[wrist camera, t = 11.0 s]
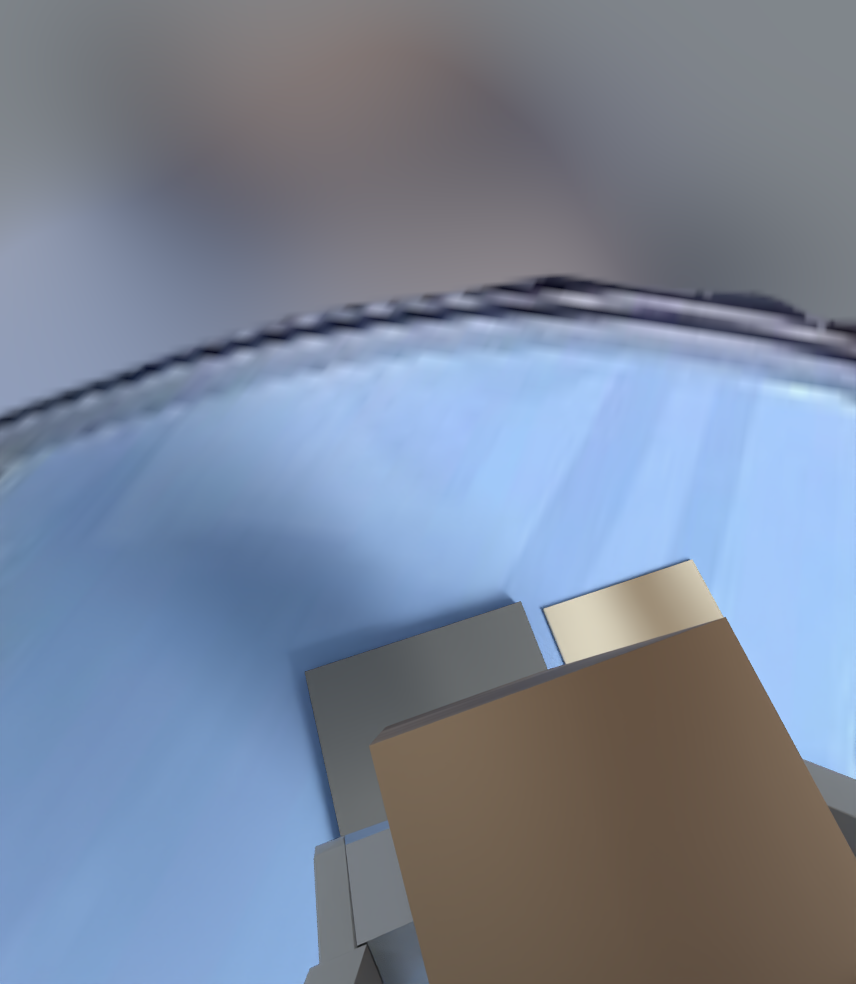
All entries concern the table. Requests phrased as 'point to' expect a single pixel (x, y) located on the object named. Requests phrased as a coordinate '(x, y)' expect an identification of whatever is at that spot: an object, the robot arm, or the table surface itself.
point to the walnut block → (619, 828)
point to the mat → (408, 695)
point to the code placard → (632, 612)
